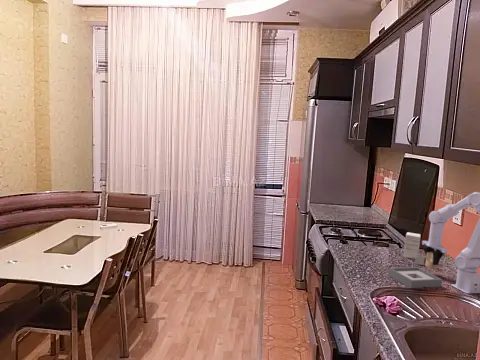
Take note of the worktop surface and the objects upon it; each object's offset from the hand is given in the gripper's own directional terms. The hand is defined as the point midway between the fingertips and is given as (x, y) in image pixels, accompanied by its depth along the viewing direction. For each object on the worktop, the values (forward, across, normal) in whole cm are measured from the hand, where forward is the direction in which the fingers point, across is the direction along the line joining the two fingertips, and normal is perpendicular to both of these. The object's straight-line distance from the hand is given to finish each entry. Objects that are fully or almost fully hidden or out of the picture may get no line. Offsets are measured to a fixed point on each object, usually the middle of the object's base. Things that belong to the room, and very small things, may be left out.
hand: (432, 263), depth 204 cm
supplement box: (+6, -26, +9) cm, 28 cm away
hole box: (+5, +8, -16) cm, 19 cm away
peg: (+2, 0, 0) cm, 2 cm away
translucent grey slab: (+6, -13, +6) cm, 15 cm away
